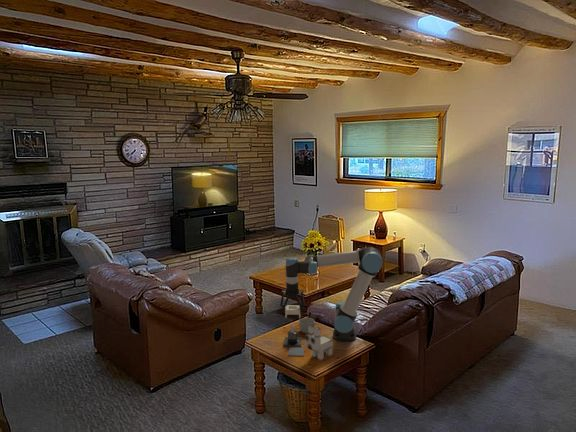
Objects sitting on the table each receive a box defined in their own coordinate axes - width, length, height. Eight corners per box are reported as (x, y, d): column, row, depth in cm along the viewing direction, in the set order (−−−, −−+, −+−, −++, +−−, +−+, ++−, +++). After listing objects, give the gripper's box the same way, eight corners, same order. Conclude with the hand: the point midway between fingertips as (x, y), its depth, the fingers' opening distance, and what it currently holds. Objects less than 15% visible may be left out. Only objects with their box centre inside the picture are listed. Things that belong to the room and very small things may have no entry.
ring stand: (302, 339, 276) (301, 322, 275) (301, 347, 266) (300, 329, 264) (285, 338, 277) (285, 322, 276) (283, 346, 267) (283, 329, 265)
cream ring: (299, 309, 272) (299, 305, 271) (298, 314, 264) (298, 310, 263) (287, 309, 273) (286, 305, 272) (285, 314, 265) (285, 309, 264)
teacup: (313, 335, 282) (313, 324, 280) (297, 334, 284) (297, 323, 283) (316, 327, 295) (316, 316, 294) (300, 326, 297) (300, 315, 296)
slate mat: (304, 348, 263) (304, 347, 263) (303, 356, 254) (303, 355, 253) (289, 348, 264) (289, 347, 264) (288, 355, 254) (288, 355, 254)
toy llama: (335, 353, 256) (335, 322, 253) (314, 363, 245) (314, 330, 242) (326, 349, 262) (325, 318, 259) (305, 359, 250) (305, 326, 247)
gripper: (309, 280, 268) (309, 315, 271) (276, 280, 270) (277, 314, 273) (308, 284, 261) (309, 319, 264) (274, 284, 262) (275, 319, 266)
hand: (292, 317), depth 269 cm, fingers closed on cream ring, 8 cm apart
